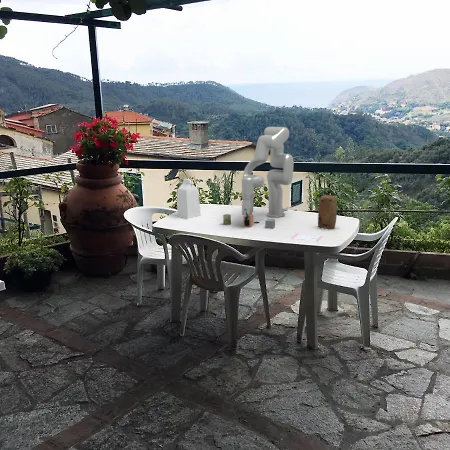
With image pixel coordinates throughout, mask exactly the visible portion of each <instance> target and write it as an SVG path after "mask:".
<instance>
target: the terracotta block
mask: <svg viewBox="0 0 450 450" xmlns="http://www.w3.org/2000/svg"><path fill="white" fill-rule="evenodd" d="M246 215H248V214H246ZM247 217H248V216H247ZM242 220H243V221H242V222H243V224H242V225H243V227H248V228H252V227H253V226H254V214H253V213H252V214H250V215H249V226H245V225H244V215H242Z"/></svg>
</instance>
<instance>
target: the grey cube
mask: <svg viewBox="0 0 450 450" xmlns="http://www.w3.org/2000/svg"><path fill="white" fill-rule="evenodd" d="M264 221H265V225H264V227H265V228H264V229H270V230H271V229H272V230H274V229H275V228H276V219H275V218H267V219H265V220H264Z"/></svg>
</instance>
